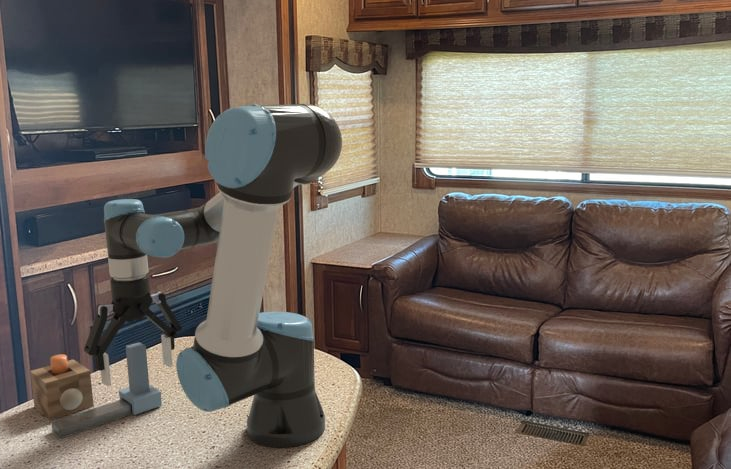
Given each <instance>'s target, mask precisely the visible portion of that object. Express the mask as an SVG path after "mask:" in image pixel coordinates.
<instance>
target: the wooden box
mask: <svg viewBox="0 0 731 469" xmlns="http://www.w3.org/2000/svg"><path fill="white" fill-rule="evenodd" d="M67 362H68V372H66V373H63V374H59V375H54V374H52V370H51V364H50V365H47V366H43V367H39V368H36V369H31V370H29V373H30V374H29V375H30V381H31V388H32V390H31V391H32V396H33V397H32V398H33V405H34V408H36V409H37V410H38V411H39V412H40V413H41V414H42V415H44V416H45V417H46V418H47V419H48V420H50V421H51V420H55V419H58V418H60V417H64V416H67V415H70V414H73V413H77V412H79V411H82V410H85V409H88V408H89V409H90V408H92V407H94V406H95V404H94V396H93V388H92V378H91V377H92V376H91V375H92V374H91V370H90V369H89V368H87V367H86V366H84V365H82V364H81V363H80V362H78V361H76V360H75V359H69V360H67Z"/></svg>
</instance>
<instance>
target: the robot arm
mask: <svg viewBox="0 0 731 469" xmlns="http://www.w3.org/2000/svg"><path fill="white" fill-rule="evenodd" d="M204 147H205V148H204V155H205V160H206V161H208V163H207V164H206V165H207V166H206V167H207V170H208V172H209V174H210V175H211V177H212V179H213V180H214V181H215V182H216V189H217V190H218V191H219V192H218V193H217V194H216V195H214V196H213V197H212V198H211V199H209V200H208V201H207V202H205V203H204V204H203V205H201V206H200V207H195V208H190V209H184V210H179V211H178V210H177V211H171V212H170V211H169V212H165V213H159V214H147V213H146V212H145V209H144V205H143V202H142V201H141V200H140V199H135V198H133V199H132V198H126V199H125V198H122V199H115V200H109V201H107V202H105V204H104V206H103V213H104V214H103V215H104V216H103V217H104V218H103V223H104V232H105V241H106V250H107V259H108V262H107V263H108V272H109V276H110V277H111V279H110V280H109V282H110V291H111V292H110V294H111V299H112V301H111V303H110V304H101V303H98V304H97V305H96V311H95V313H96V316H95V318H94V321H93V324H92V327H91V329H90V332H89V335H88V337H87V340H86V342H85V346H84V347H83V348H84V349H83V352H85V354H88V355H89V356H94V363H95V368H96V370H97V371H99V372H100V376H101V383H102V384H104V386H106V387H110V386H112V381H111V380H112V379H111V370H110V369H111V368H110V361H109V353H106V351H107V350H108V349H109V347H110V345H111V343H112V342H113V340H114V338H115V337H116V335H117V334H118V332H119V330H120V328H121V327H124V324H125V323H131V322H133V321H136V320H137V321H139V320H143V318H144V317H146V318H147V319H148V320H149V321H150V322H151V323H152V324H154V326H156V327H157V328H158V329H159V330H161V331H162V332H163V333H164V334H161V335H160V336H161V340H160V341H161V352H162V362H163V363H162V364H163V365H165V366H166V367H169V368H172V367H174V364H173V352H172V351H173V350H175V347H176V346H175V337H176V336H177V333H178V332H181V331H182V330H183V326H182V325H181V323H180V322H179V320H178V319H177V317H176V315H175V314H174V312H173V311H172V308H171V307H170V306H169V304H168V303H167V298H166V294H165V293H164V292H162V291H159V290H158V291H157V290H156V291H155V292H154V294H151V284H150V283H151V282H150V275H148V273H149V271H150V269H149V261H148V256H150V257H154V258H166V259H167V258H170V257H173V256H174V255H176V254H177V253H178V252H179V251H180V250H184V249H190V248H194V247H198V246H204V245H205V246H206V245H209V244H210V245H211V244H214V243H217V247H216V255H215V261H214V267H213V272H212V273H213V274H212V280H211V287H210V294H209V301H208V305H207V306H208V307H207V315H206V319H205V320H203V321H202V322H200V324H199V325H198V326H197V327H196V329H195V331H194V332H195V333H194V339H193V340H194V341H193V345H192V346H190V347H185V348H184V349H183V350H182V351H180V352H179V353H178V355H177V357H176V360H175V361H176V363H175V364H176V365H175V366H176V367H175V368H176V374H177V378H178V381H179V383H180V384H179V385H181V388H182V391H183V393H184V394H185V395H186V397H187V399H188V400H189V401H190V403H192V405H193V406H195V407H196V408H198V409H199V410H201V411H203V412H206V413H207V412H208V413H209V412H210V413H211V412H215V411H217V410H221V409H226V408H228V407H230V406H232V405H234V404H237V403H238V402H239V403H240V402H241V401H243V400H245V399H248V398H251V397H252V396H253V399H252V401H251V405H250V410H249V414H248V416H247V420H246V433H247V436H248V437H249V439H250V440H251V441H253V442H254V443H256V444H258V445H261V446H265V447H270V448H291V447H297V446H302V445H305V444H308V443H311V442H313V441H314V440H316V439H318V438H320V436H321V435H323V433H324V431H325V429H326V416H325V413H324V410H323V407H322V404H321V402H320V399H319V397H318V394H317V390H316V384H315V382H316V381H315V345H314V343H315V342H314V341H315V337H314V332H313V330H314V329H313V325H312V322H311V320H310V319H309V318H308V317H306V316H304V315H302V314H299V313H294V312H288V311H263V312H261V307H262V300H263V297H264V290H265V284H266V279H267V274H268V269H269V265H270V264H269V263H270V259H271V258H270V257H271V253H272V248H273V242H274V236H275V231H276V227H277V221H278V215H279V210H280V207H281V206H283V205H285V204H287V203H288V202H290V201H291V198H292V194H293V189H294V188H295V187H297V186H299V185H301V186H302V185H309V184H311V183H313V182H315V181H316V180H318V179H319V178H321V177H322V176H323V175H325V174H326V173H327V172H329V171H330V170H331V169H333V167H334V166H335V165H336V164H337V162H338V160H339V158H340V156H341V154H342V153H341V152H342V150H343V149H342V148H343V137H342V133H341V130H340V127H339V125H338V123H337V122H336V120H335V118H334V117H332V115H331V114H330V113H329V112H328V111H326V110H325V109H323V108H321V107H319V106H317V105H314V104H311V103H294V104H293V103H291V104H289V103H288V104H267V105H266V104H262V105H260V104H257V103H255V104H254V103H253V104H246V105H243V106H235V107H231V108H228V109H226V110H224V111H223V112H221V113H220V114H219V115H217V117H215V119H214V120H213V122H212V124H211V125H210V127H209V129H208V133H207V136H206V140H205V146H204ZM153 303H154V304H156V305H157V307H158V308H159V310H160V312H161V313H162V314H163V316H164V318H165V319H166V322H167V323H168V324H169V326H168V325H167V324H166V323H165V322H164V321H163V320H162V319H161V318H159V316H157V315H156V314H155V313H154V311H152V310H151V309H150V307H151V306H152V304H153ZM111 312H113V313H114V314H113V316H112V317H111V319H110V322H109V324H108V325H107V327H106V329H105V326H106V323H107V320H108V316H110V315H111V314H110V313H111ZM104 329H105V330H104Z"/></svg>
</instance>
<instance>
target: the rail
mask: <svg viewBox="0 0 731 469" xmlns="http://www.w3.org/2000/svg"><path fill="white" fill-rule="evenodd" d="M130 415H134V414H133V412H132V404H131V403H129V402H128V401H126V400H125V399H122V400H120V399H119V400H116V401H113V402H112V401H111V402H109V403H106V404H104V405H99V406H97V407H94V408H92V409H88V410H85V411H82V412H79V413H76V414H72V415H69V416H67V417H64V418H59V419H58V420H54V421H52V422H51V431H52V433H53V434H54V435H56V437H58V438H59V439H60V440H61V439H63V438H66V437H69V436H72V435H75V434H78V433H81V432H83V431H87V430H90V429H93V428H96V427H98V426H101V425H104V424H106V423H107V424H108V423H110V422H112V421H116V420H119V419H122V418H124V417H128V416H130Z"/></svg>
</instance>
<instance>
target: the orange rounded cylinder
mask: <svg viewBox="0 0 731 469" xmlns="http://www.w3.org/2000/svg"><path fill="white" fill-rule="evenodd" d="M49 360H50V365H51V370H52V374H54V375H59V374H63V373H66V372H68V362H67V361H68V356H67V355H66V354H54V355H52V356H51V357H49Z"/></svg>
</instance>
